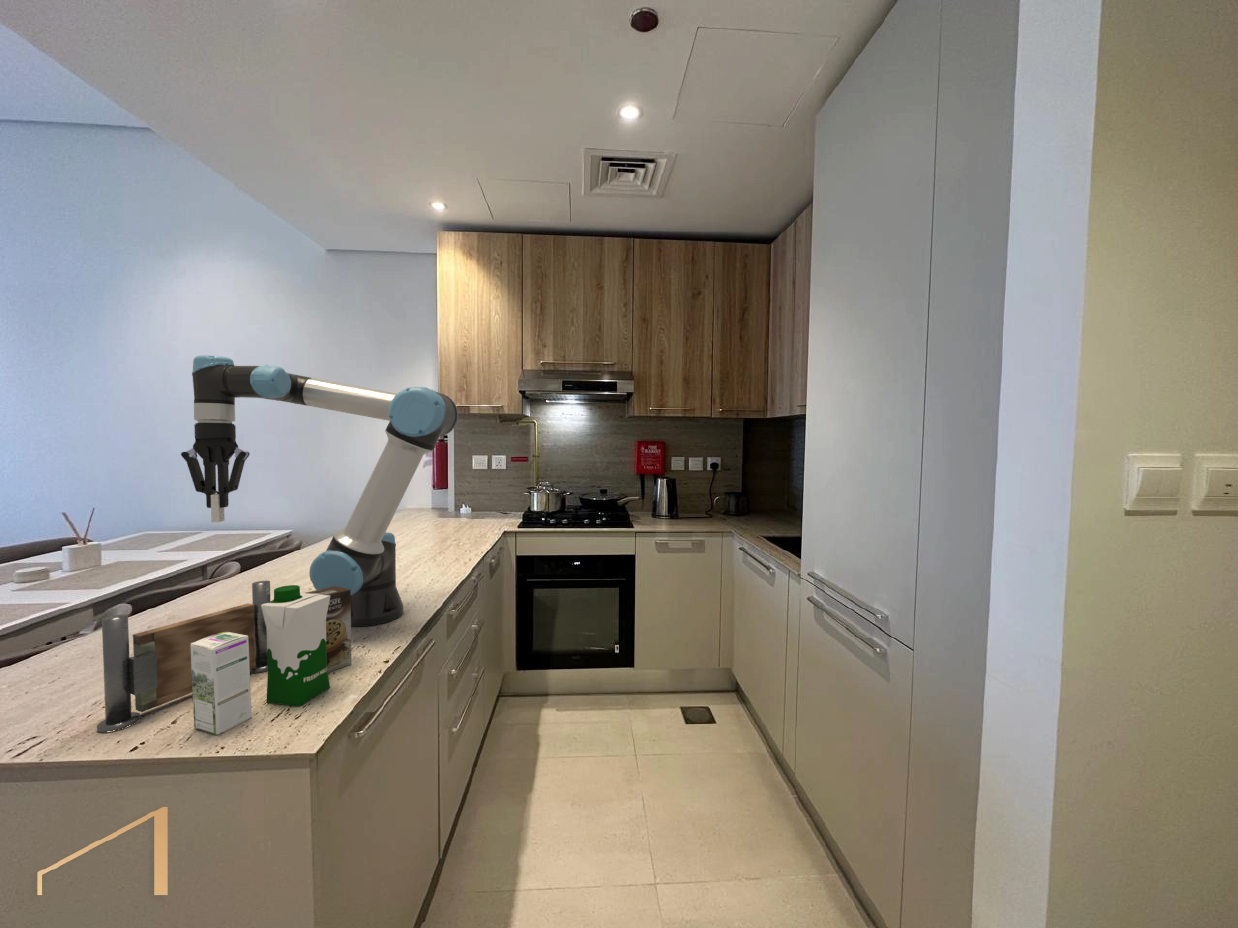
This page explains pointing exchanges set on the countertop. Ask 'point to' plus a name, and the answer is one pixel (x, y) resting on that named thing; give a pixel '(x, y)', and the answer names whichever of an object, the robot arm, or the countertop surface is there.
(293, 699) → the milk carton
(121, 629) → the latch post
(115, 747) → the countertop surface
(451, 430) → the robot arm
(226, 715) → the syrup box
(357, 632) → the countertop surface
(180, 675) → the gate
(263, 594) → the hinge post
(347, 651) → the brown cookie box
